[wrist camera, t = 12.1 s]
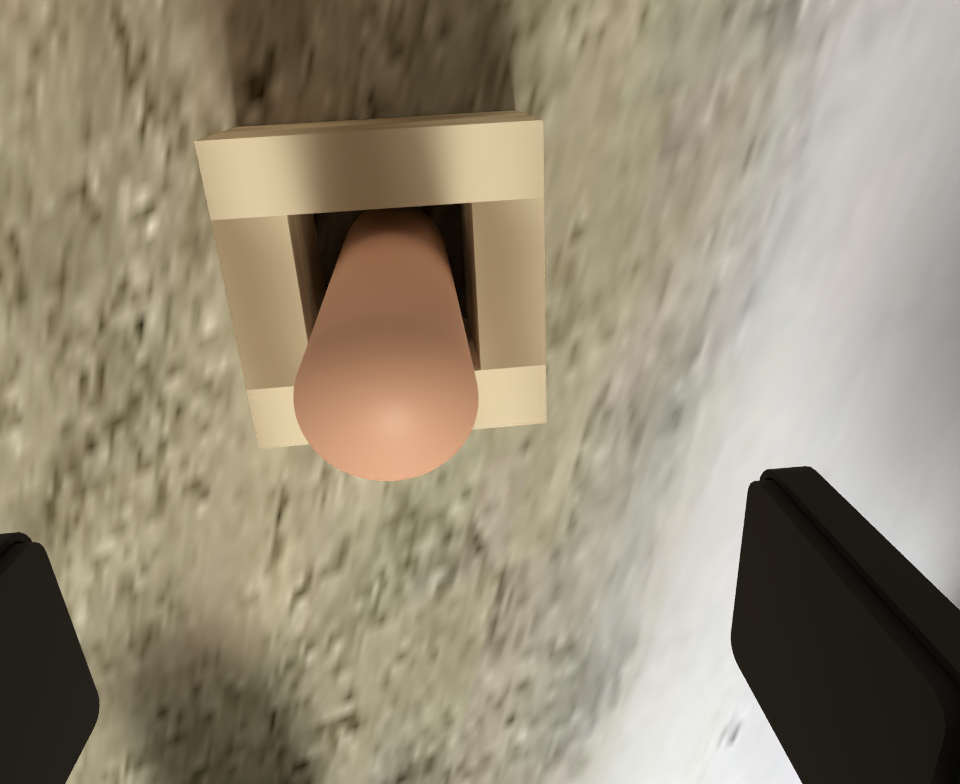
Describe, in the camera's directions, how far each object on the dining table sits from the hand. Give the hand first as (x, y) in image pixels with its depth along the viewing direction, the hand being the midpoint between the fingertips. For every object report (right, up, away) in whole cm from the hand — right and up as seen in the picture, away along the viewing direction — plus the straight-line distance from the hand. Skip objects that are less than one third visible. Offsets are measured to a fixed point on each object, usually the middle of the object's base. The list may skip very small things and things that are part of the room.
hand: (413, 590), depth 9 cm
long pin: (-2, +7, +15) cm, 17 cm away
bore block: (-2, +7, +15) cm, 17 cm away
